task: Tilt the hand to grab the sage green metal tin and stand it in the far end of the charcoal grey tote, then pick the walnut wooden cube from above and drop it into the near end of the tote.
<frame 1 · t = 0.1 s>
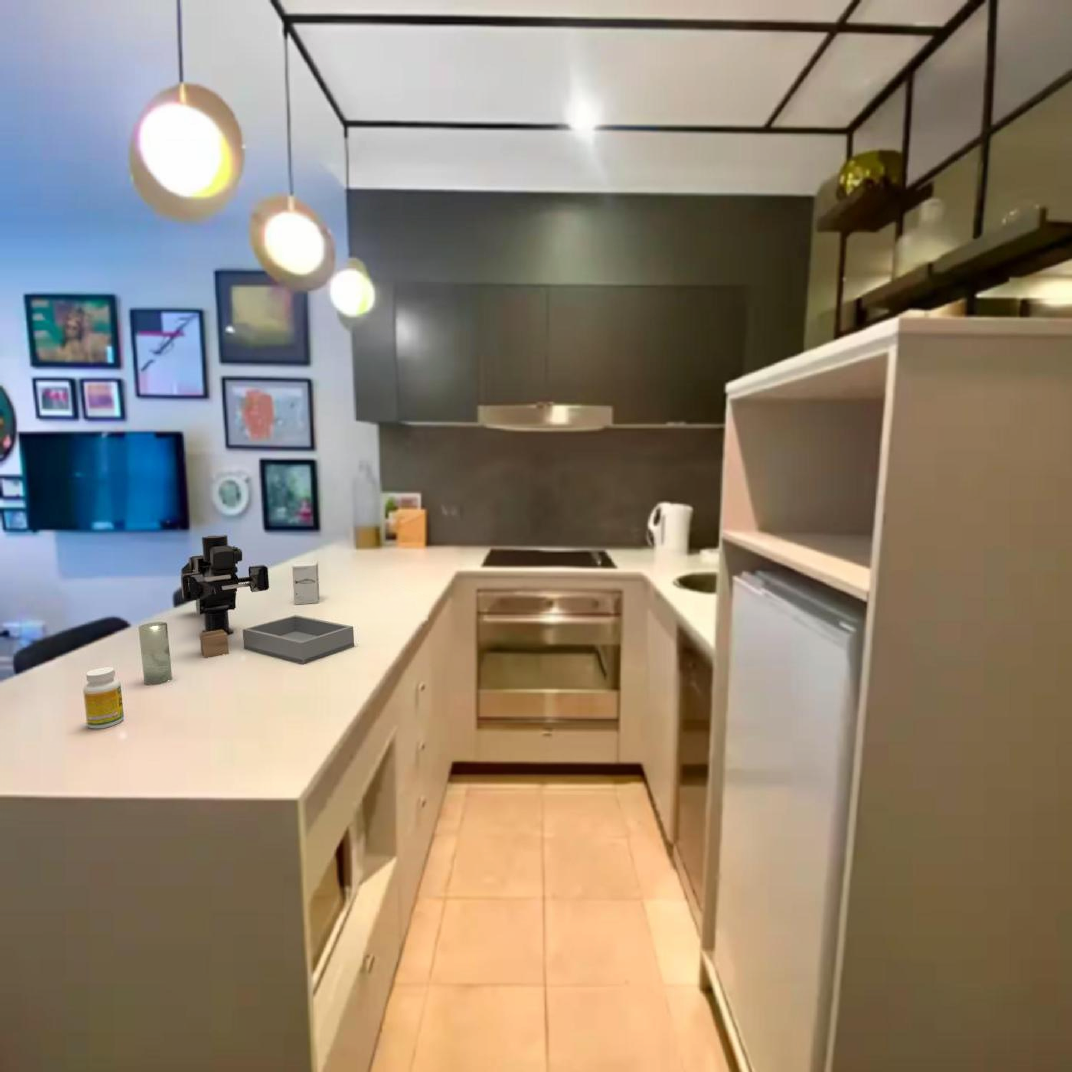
hand: (234, 588, 139), 17 cm above the worktop, tool horizontal, fingers open, 9 cm apart
walnut cube: (215, 653, 144), on the worktop
tote: (299, 647, 148), on the worktop
sage tin: (158, 680, 127), on the worktop
supplement bottle: (106, 723, 107), on the worktop
supplement box: (307, 602, 195), on the worktop
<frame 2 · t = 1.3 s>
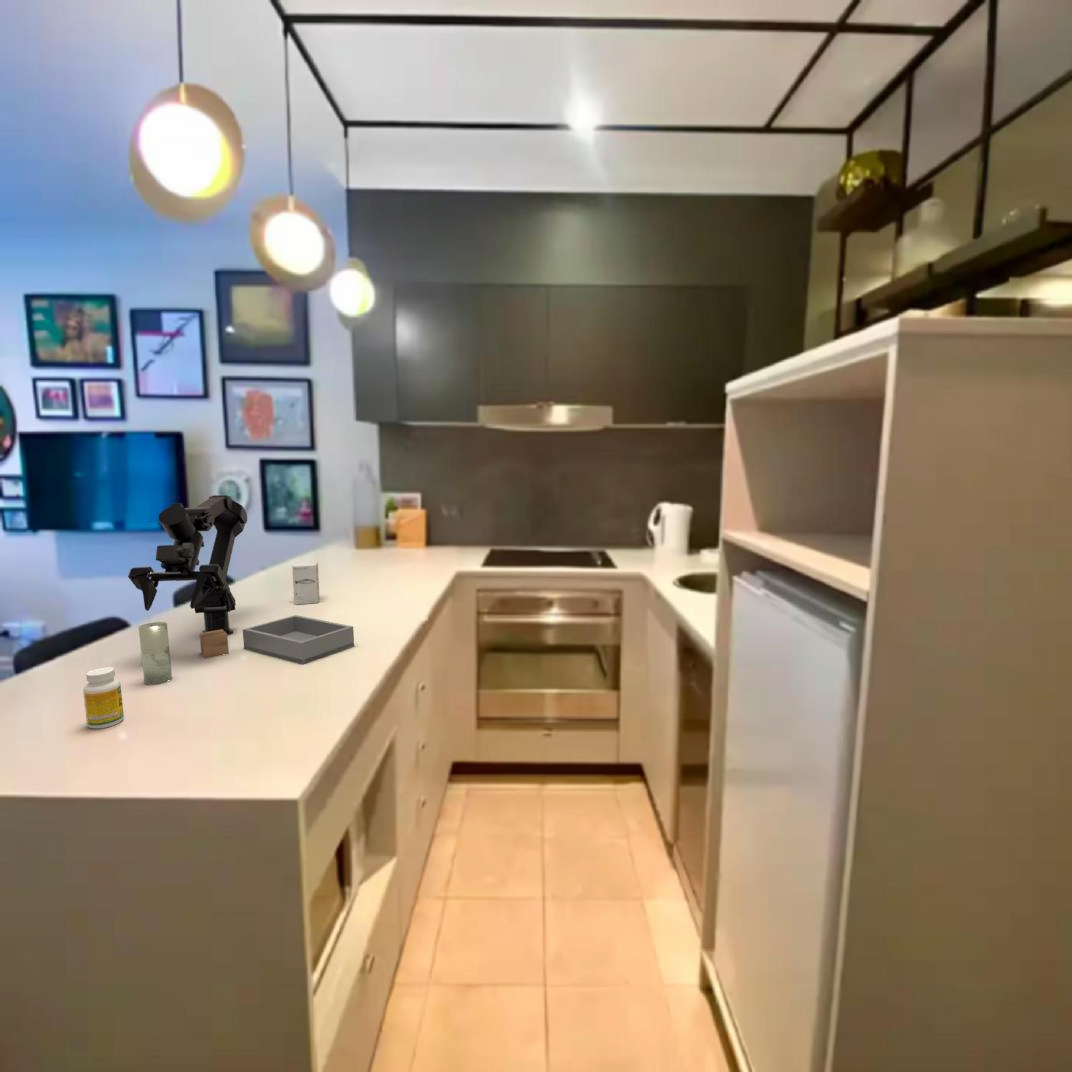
hand: (169, 608, 133), 14 cm above the worktop, tool tilted 45°, fingers open, 9 cm apart
nothing on the worktop moved.
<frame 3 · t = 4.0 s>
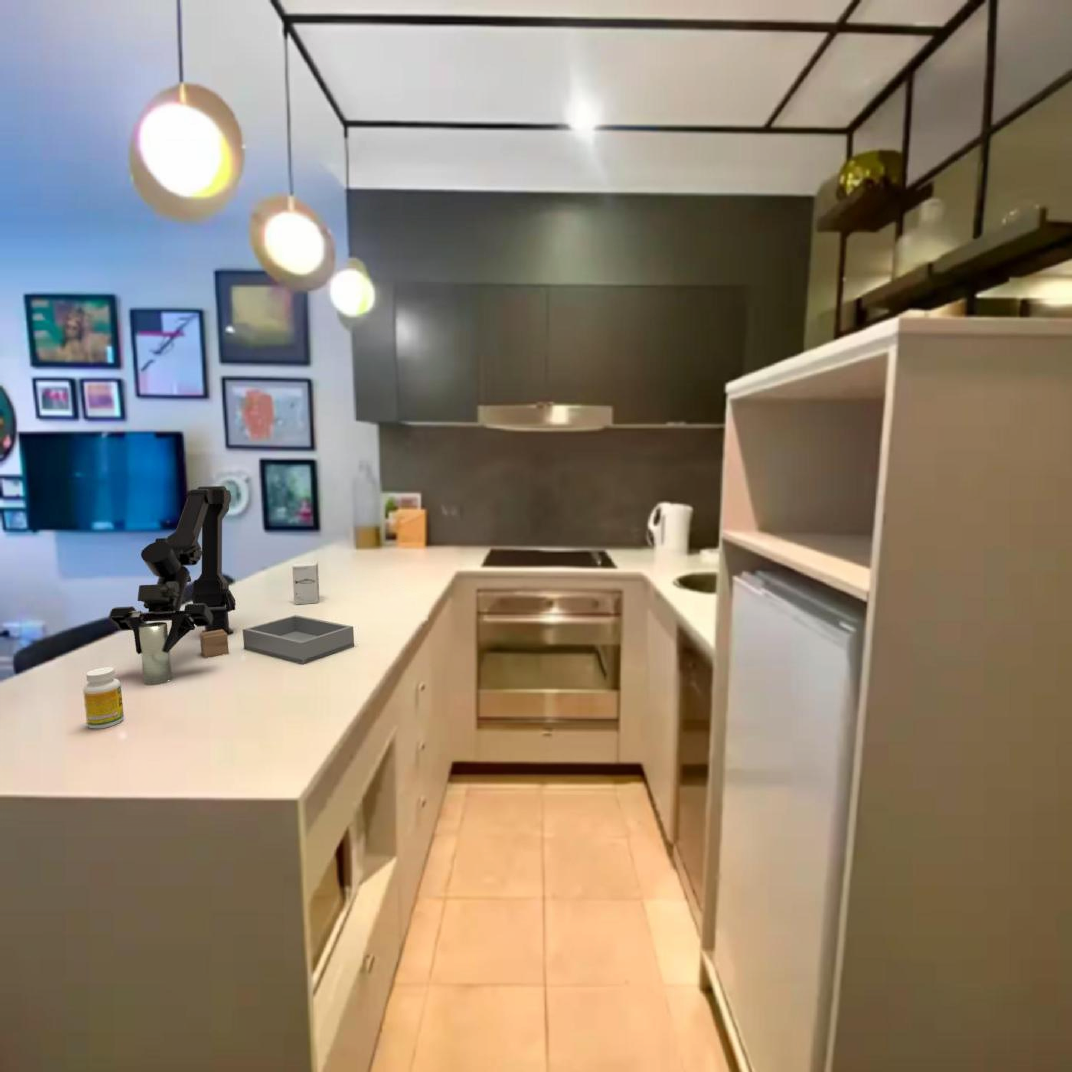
hand: (152, 652, 125), 7 cm above the worktop, tool tilted 45°, fingers closed on sage tin, 5 cm apart
sage tin: (158, 680, 127), on the worktop, touching gripper
everything else where it was.
when the fingers open (9 cm above the worktop, at t = 10.5 s): sage tin drops 1 cm, resting on tote.
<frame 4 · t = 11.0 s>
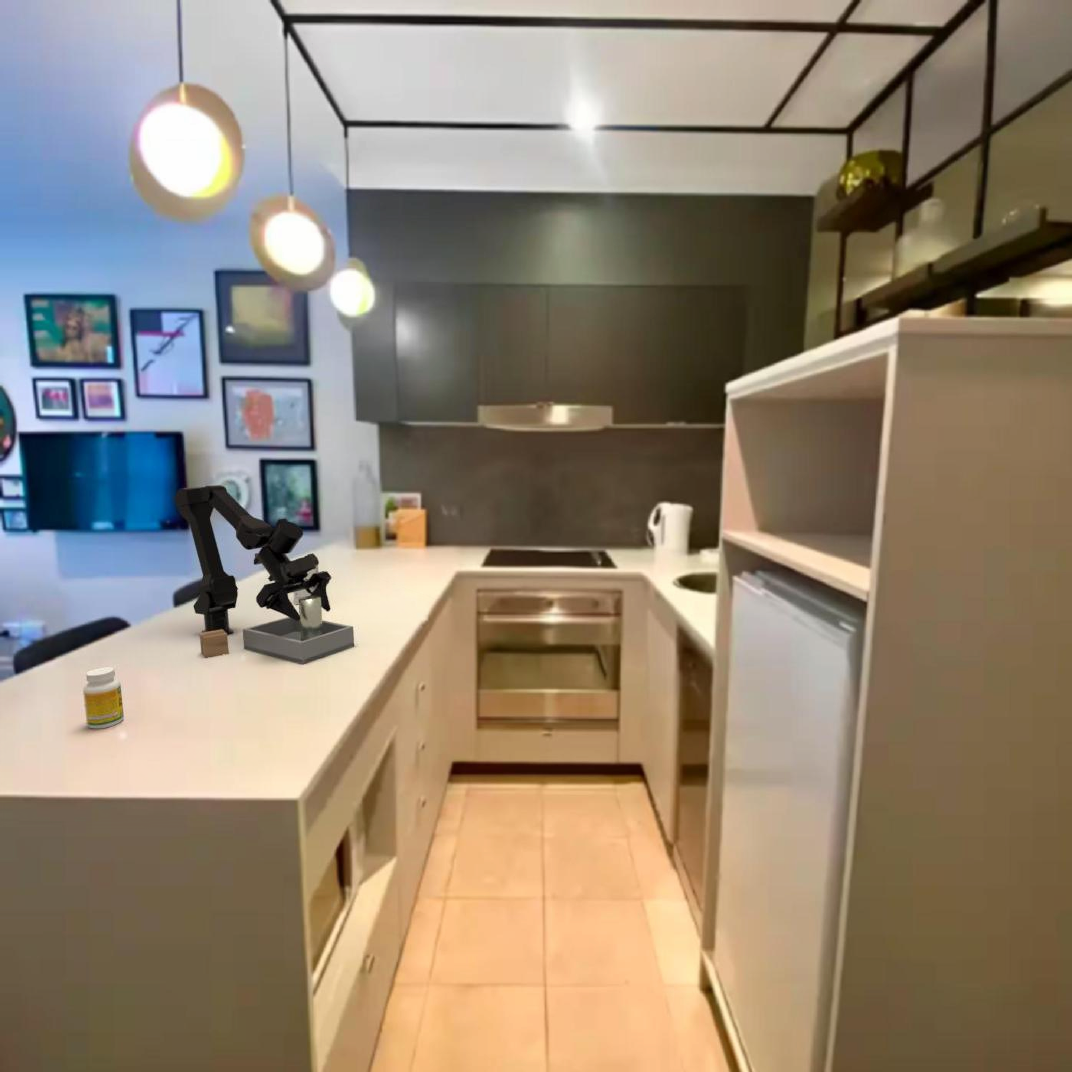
hand: (314, 615, 143), 9 cm above the worktop, tool tilted 45°, fingers open, 9 cm apart
sage tin: (312, 646, 145), point 1 cm above the worktop, touching tote
everything else where it was.
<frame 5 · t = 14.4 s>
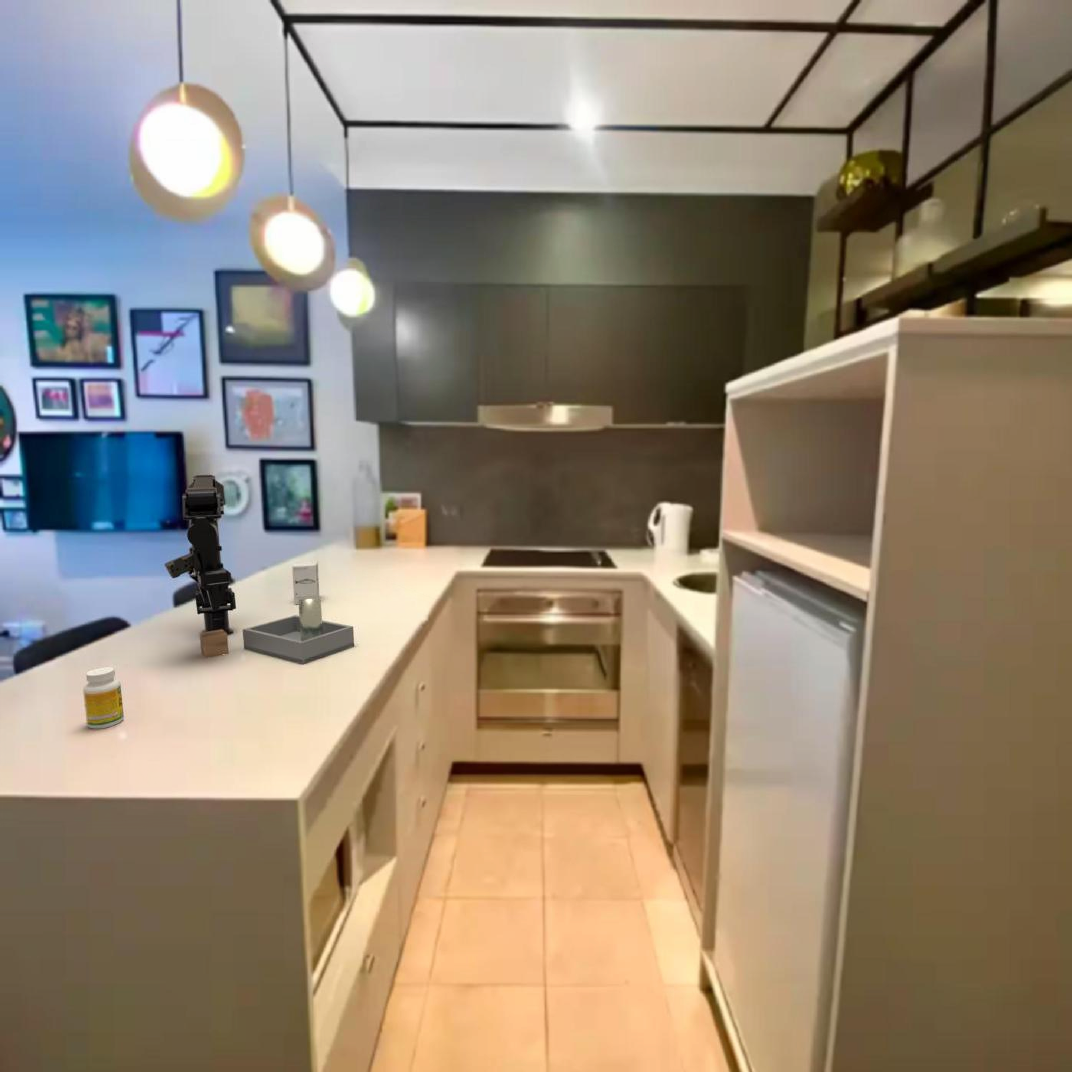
hand: (211, 607, 143), 11 cm above the worktop, tool pointing down, fingers open, 9 cm apart
nothing on the worktop moved.
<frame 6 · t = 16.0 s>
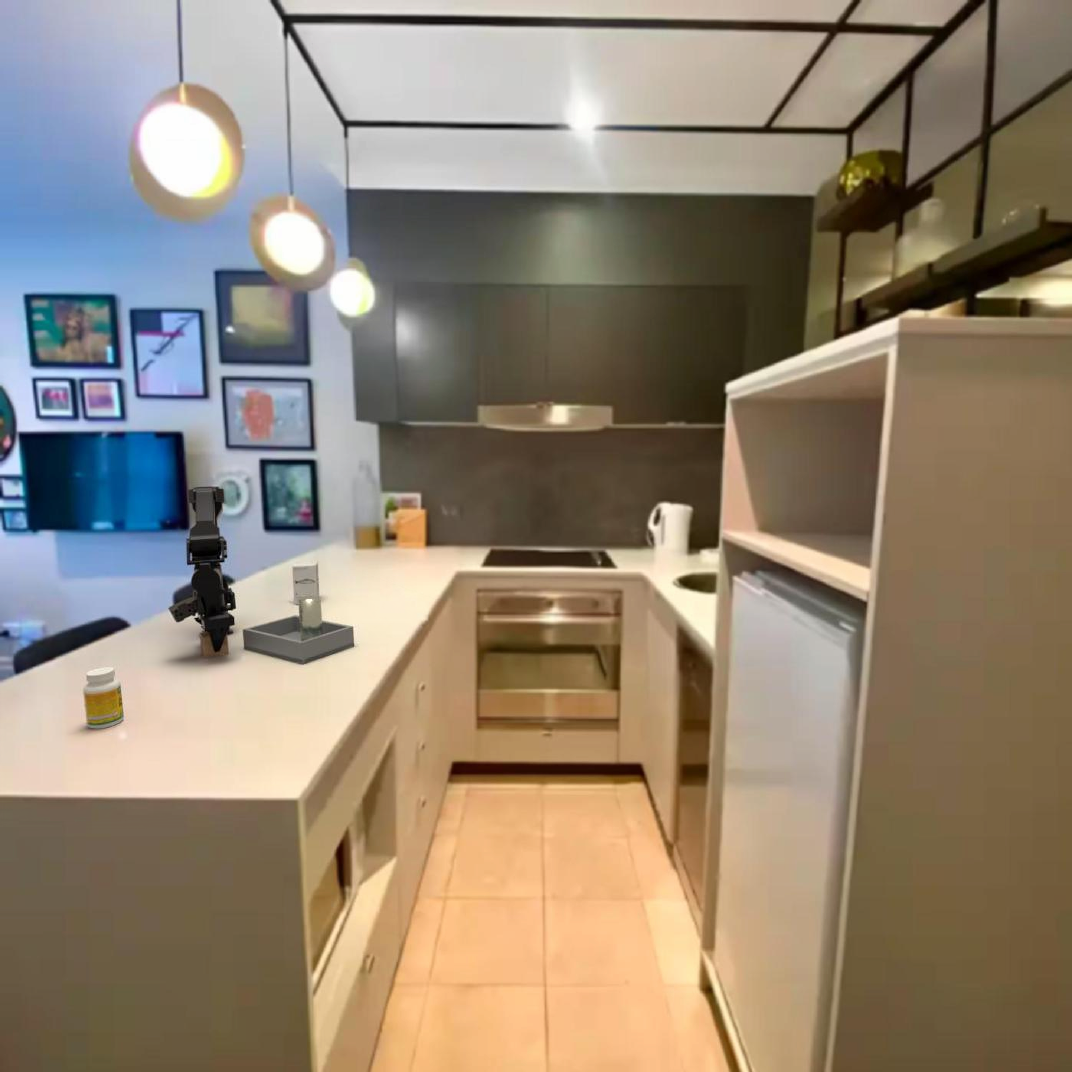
hand: (214, 649, 144), 1 cm above the worktop, tool pointing down, fingers closed on walnut cube, 5 cm apart
walnut cube: (215, 653, 144), on the worktop, touching gripper
everything else where it was.
when the fingers open (3 cm above the worktop, at t = 20.5 s): walnut cube stays where it is, resting on tote.
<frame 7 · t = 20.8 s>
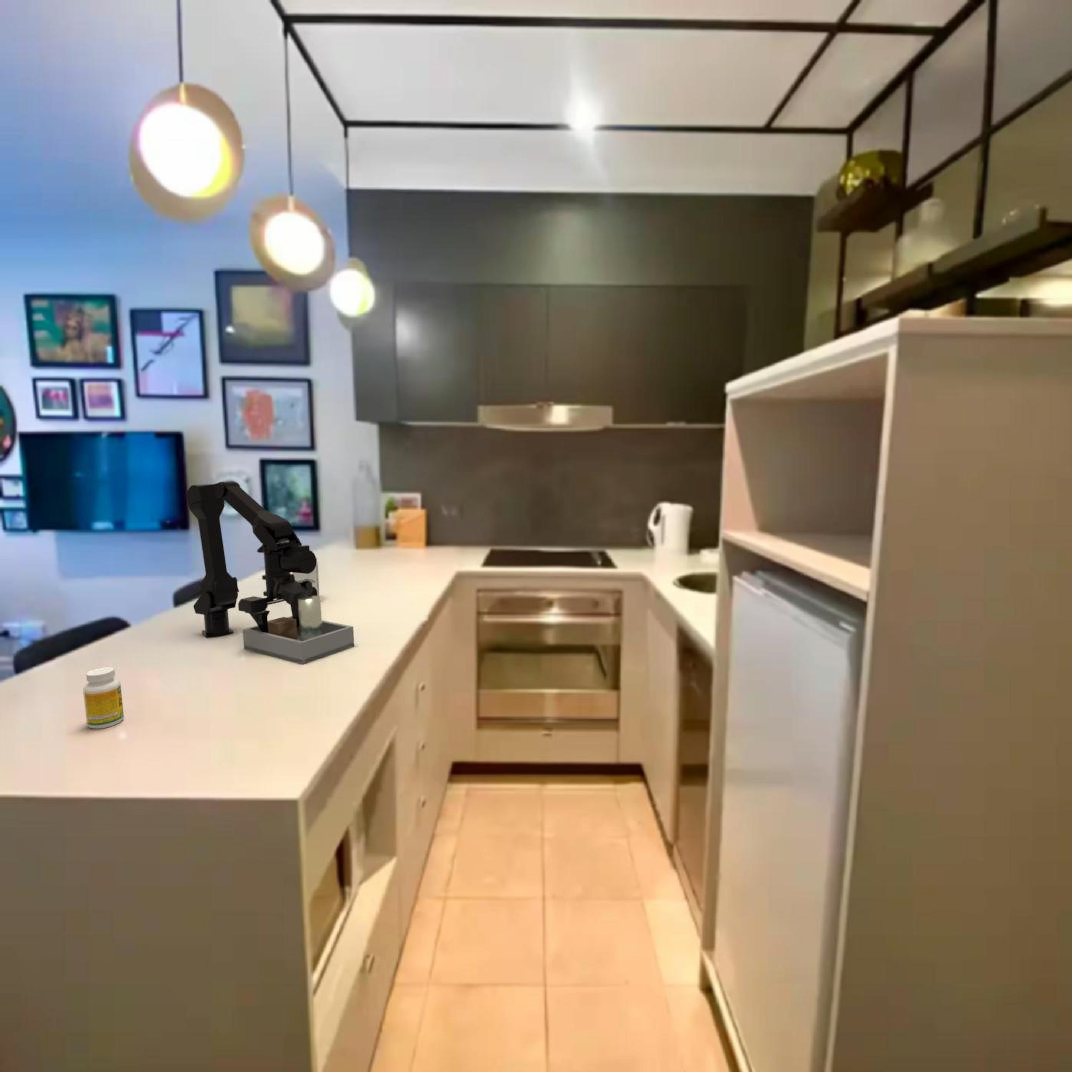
hand: (281, 632, 151), 3 cm above the worktop, tool pointing down, fingers open, 8 cm apart
walnut cube: (282, 639, 151), point 1 cm above the worktop, touching tote
everything else where it was.
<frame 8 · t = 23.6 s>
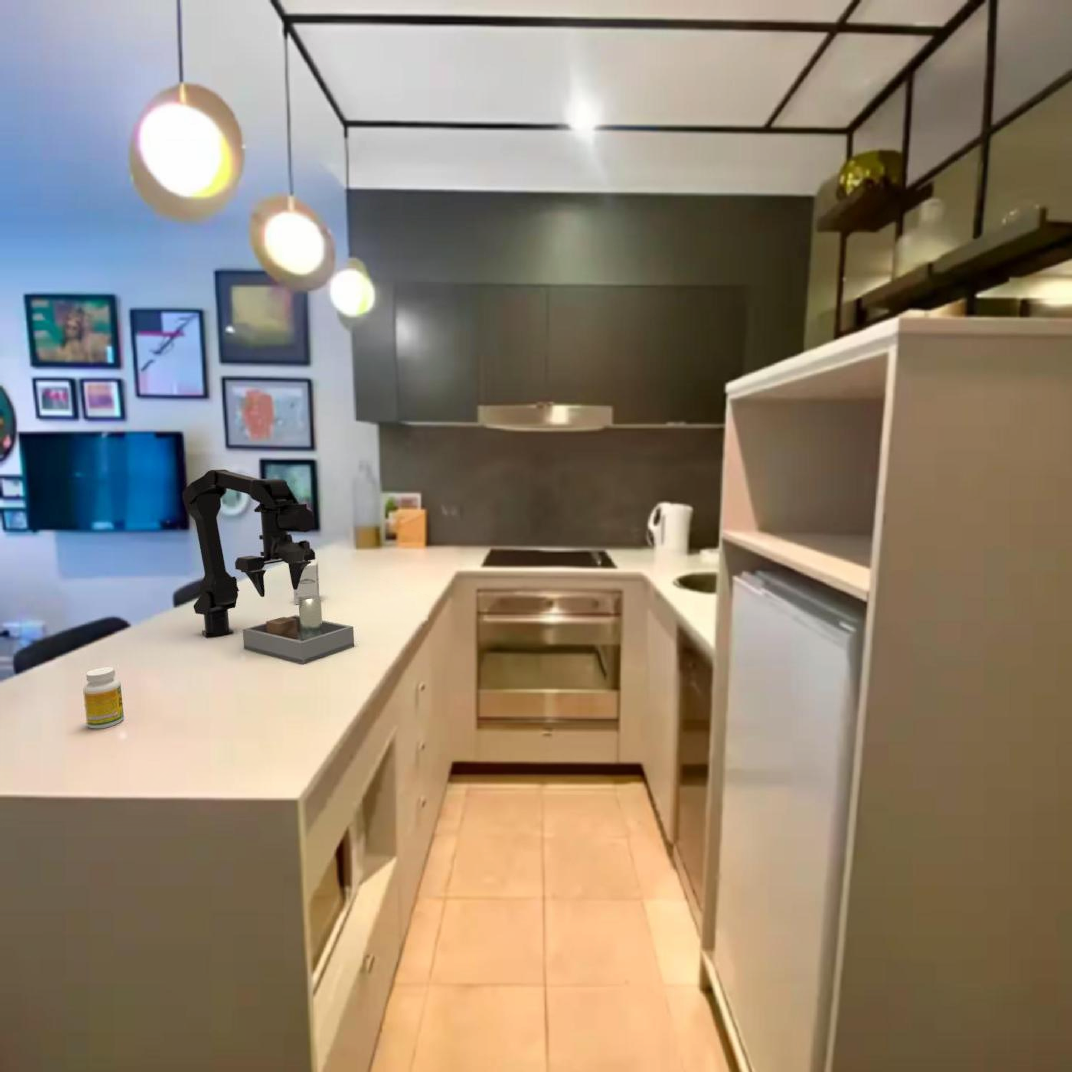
hand: (279, 593, 149), 13 cm above the worktop, tool pointing down, fingers open, 9 cm apart
nothing on the worktop moved.
at the end: sage tin inside the target area on the tote (5.0 cm from its centre), point 1.0 cm above the tote's base; walnut cube inside the target area on the tote (6.5 cm from its centre), point 1.0 cm above the tote's base; sage tin tilted 1° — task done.
